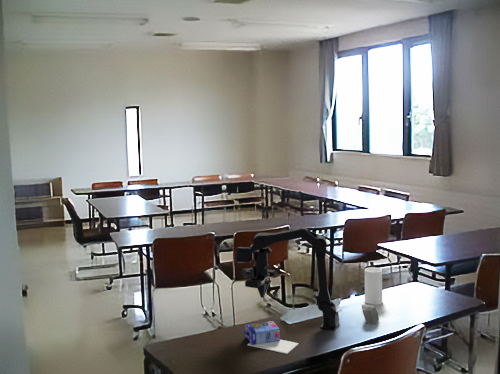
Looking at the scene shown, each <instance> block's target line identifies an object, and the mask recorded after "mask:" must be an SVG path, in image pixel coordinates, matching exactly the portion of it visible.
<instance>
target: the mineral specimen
mask: <svg viewBox="0 0 500 374" xmlns="http://www.w3.org/2000/svg"><path fill="white" fill-rule="evenodd" d="M361 310H362V314H363V317H364V321H365V323H366V324H367V325H369V324H371V325H376V323H378V322H379V321H380V318H379V316H380V315H379V312H378V309H377V307H376V306H374V305H372V304H361Z"/></svg>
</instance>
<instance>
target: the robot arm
mask: <svg viewBox="0 0 500 374" xmlns="http://www.w3.org/2000/svg"><path fill="white" fill-rule="evenodd" d="M301 238H302V240H304V241H306V242H307V243H308V244H309V245H311V247H313V251H314V255H315V258H316V267H317V268H316V269H317V279H318V281H317V282H318V291H315V292H314V293H315V294H314V295H315V306H317V309H318V310H319V311H321V312H322V324H320V326H319V328H321V329H325V330H330V331H331V330H332V331H335V330H336V329H337V328H338V327H339V326H340V324H339V323H337V307H336V303H334V302H333V301H332V300H331V296H330V293H329V288H328V279H327V267H326V265H327V264H326V255H327V246H328V244H327V238H326V237H325V236H323V235H321V234H317V233H315V232H314V231H312V230H309V229H308V228H307V227H305V226H301V227H298V228H292V229H287V230H283V231H278V232H258V233H256V235H254V237H253V243H252V244H250V246H249V247H248V246H245V247H243V246H238V247H236V248H237V250H236V251H237V252H236V263H237V264H246V263H247V264H251V262H252V261H253V260H254V264H253V265H252V267H249V268H247V267H246V268H243V269H241V276H242V277H243V278H244V279H246V280H245V282H244V286H245V287H246V288H254V289H257V292H258V293H259V296H260V299H261V298H264V297H265V296H266V293H267V291H268V289H269V287H270V285H271V283H272V280H271V279H269V278H270V277H273V279H276V278H278V276H279V274H278V271H277V270H276V269H269V268H270V266H271V265H270V263H268V262H269V260H268V257H269V256H268V254H271V253H272V251H273V249H271V248H270V246H271V245H273V244H276V243H281V242H287V241H292V240H296V239H301ZM248 277H250V278H248Z"/></svg>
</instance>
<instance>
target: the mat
mask: <svg viewBox="0 0 500 374" xmlns="http://www.w3.org/2000/svg"><path fill="white" fill-rule="evenodd" d="M246 346H249V347H254V348H258V349H259V348H260V349H262V350H269V351H271V352H277V353H280V354H286V355H288V354H289V353H290V352H291V351H293V350H294V349H295V348H297V346H299V343H298V342H294V341H290V340H283V339H280V341H275V342H268V343H262V344H256V345H252V344H251V343H250V342H249V343H247V345H246Z"/></svg>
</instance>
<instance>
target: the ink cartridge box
mask: <svg viewBox="0 0 500 374" xmlns="http://www.w3.org/2000/svg"><path fill="white" fill-rule="evenodd" d="M241 332H242V334H243V335H245V337H246V338H247V340H248V342H249V343H251V344H252V345H256V344H262V343H268V342H275V341H280V340H281V329H280V328H279V326H278V325H277V324H276V322H274V320H272V321H271V320H270V321H262V322H256V323H254V322H253V323H248V324H245V330H241Z"/></svg>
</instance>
